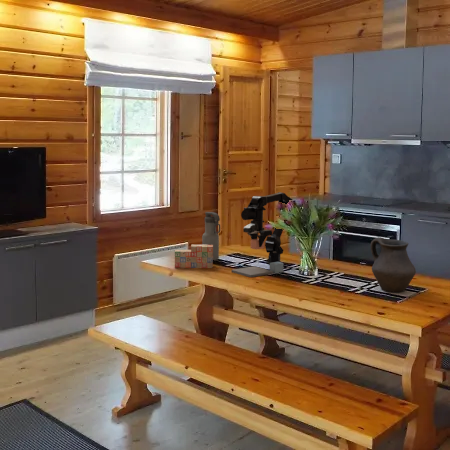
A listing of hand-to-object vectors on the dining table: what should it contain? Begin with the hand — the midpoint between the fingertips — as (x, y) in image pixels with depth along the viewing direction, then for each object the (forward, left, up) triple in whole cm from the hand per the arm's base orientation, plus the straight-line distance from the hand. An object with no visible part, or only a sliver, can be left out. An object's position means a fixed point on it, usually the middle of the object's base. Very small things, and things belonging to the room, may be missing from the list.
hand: (257, 246), depth 358 cm
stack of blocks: (+28, -22, -12) cm, 38 cm away
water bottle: (+8, -33, -12) cm, 36 cm away
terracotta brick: (0, 0, -1) cm, 1 cm away
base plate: (+12, +10, -12) cm, 19 cm away
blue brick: (0, +16, -12) cm, 20 cm away
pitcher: (-17, +79, -12) cm, 82 cm away
